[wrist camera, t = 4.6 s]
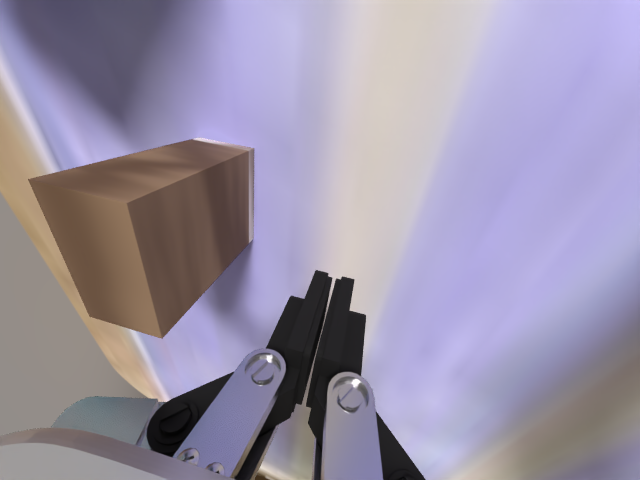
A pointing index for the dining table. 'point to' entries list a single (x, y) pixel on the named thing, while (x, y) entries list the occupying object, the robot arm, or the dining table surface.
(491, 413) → the dining table surface
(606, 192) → the dining table surface
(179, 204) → the walnut block
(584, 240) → the dining table surface
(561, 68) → the dining table surface
